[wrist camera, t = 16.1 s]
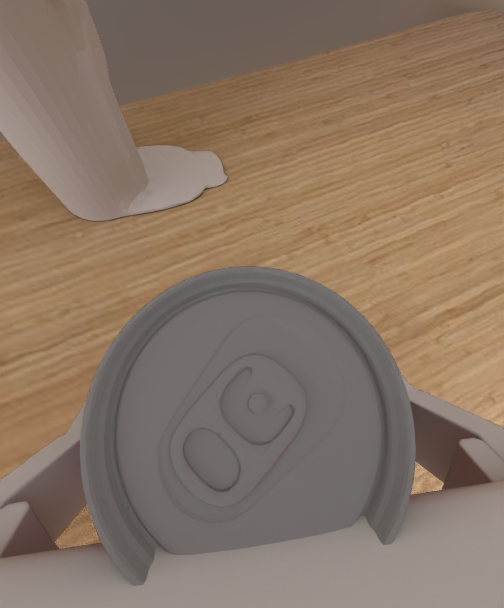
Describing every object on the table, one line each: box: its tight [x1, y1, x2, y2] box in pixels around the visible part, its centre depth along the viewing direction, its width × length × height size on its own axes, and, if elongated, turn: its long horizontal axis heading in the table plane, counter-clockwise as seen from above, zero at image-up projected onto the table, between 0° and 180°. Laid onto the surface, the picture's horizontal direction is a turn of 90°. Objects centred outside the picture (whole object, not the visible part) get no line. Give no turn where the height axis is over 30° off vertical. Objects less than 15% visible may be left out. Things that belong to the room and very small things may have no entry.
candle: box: [0, 0, 227, 221], centre depth 14 cm, size 7×14×20 cm, turn 104°
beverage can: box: [80, 266, 416, 586], centre depth 10 cm, size 7×7×12 cm
